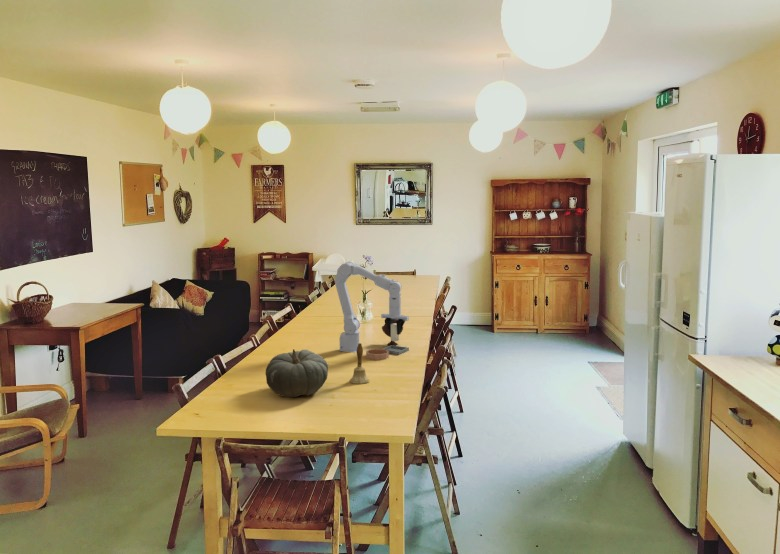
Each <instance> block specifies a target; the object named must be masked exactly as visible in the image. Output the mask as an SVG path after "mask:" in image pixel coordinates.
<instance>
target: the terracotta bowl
mask: <svg viewBox="0 0 780 554" xmlns="http://www.w3.org/2000/svg"><path fill="white" fill-rule="evenodd" d="M389 355H390V354H389V351H388V350H384V349H383V348H373V349H368V350H366V351H365V358H366V359H368V360H372V361H381V360H387V359H389V357H390V356H389Z"/></svg>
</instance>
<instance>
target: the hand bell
mask: <svg viewBox="0 0 780 554" xmlns="http://www.w3.org/2000/svg"><path fill="white" fill-rule="evenodd" d="M363 351H364V348H363V344H362V343H360V342H359V344H358V347H357V352H356V356H357V365H356V367H354V369H353V375H352V377H351V378H350V379H349V383H350V384H353V385H363V384H367V383H368V384H369V382H370V379H369V377H368V376H367V374H366V368H364V367H363V366H362V358H363V355H364V354H363V353H364V352H363Z"/></svg>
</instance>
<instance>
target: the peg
mask: <svg viewBox="0 0 780 554" xmlns="http://www.w3.org/2000/svg"><path fill="white" fill-rule="evenodd" d="M399 340H400V334H399V335H397V324H396V323H394V324H391V338H390V342H391V341H394V342H399Z"/></svg>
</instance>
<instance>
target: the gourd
mask: <svg viewBox="0 0 780 554" xmlns="http://www.w3.org/2000/svg"><path fill="white" fill-rule="evenodd" d="M328 373H329V364H328V362H327V360H325V359H324V357H323V356H321V355H320V354H318V353H315V352H313V351H311V350H308V349H302V350H295V349H292V352H283V353H279V354H277V355H275V356H273V357H272V358H271V360H270V361H269V363H268V364H267V366H266V368H265V377H266V380H265V381H266V384H267V386H268V387H269V389H270V390H271V391H273V392H274V393H275V394H276V395H279V396H281V397H287V398H288V397H289V398H296V397H299V396H312V395H314V394H317V392H318V391H319V390H320V389H321V388H322V387H323V386H324V384H325V382H326V380H327V379H328Z"/></svg>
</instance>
